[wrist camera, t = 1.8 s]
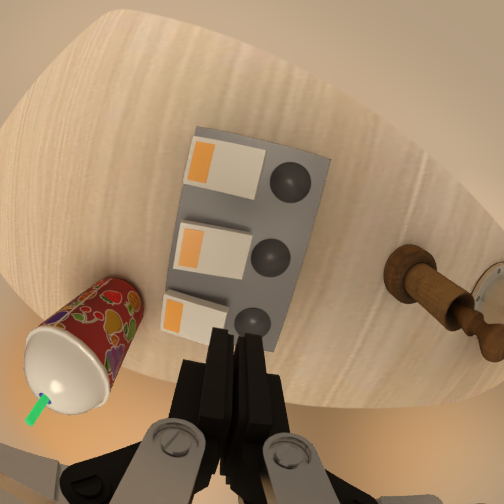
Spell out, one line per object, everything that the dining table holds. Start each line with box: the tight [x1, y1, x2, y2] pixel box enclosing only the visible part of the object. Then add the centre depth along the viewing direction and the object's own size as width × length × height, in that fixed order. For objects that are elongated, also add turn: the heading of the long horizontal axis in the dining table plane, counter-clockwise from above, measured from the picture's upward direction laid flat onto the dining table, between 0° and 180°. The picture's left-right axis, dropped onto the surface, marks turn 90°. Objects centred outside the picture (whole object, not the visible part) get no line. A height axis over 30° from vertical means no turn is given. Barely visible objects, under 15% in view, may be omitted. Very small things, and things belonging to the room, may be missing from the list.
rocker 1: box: [183, 136, 267, 200], centre depth 23 cm, size 6×4×1 cm, turn 77°
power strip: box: [165, 126, 331, 352], centre depth 28 cm, size 12×20×4 cm, turn 167°
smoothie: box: [24, 278, 143, 426], centre depth 22 cm, size 8×8×20 cm
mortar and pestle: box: [384, 245, 504, 362], centre depth 23 cm, size 7×6×18 cm
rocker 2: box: [160, 289, 230, 346], centre depth 26 cm, size 6×4×1 cm, turn 77°
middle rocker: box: [173, 219, 253, 280], centre depth 25 cm, size 6×4×1 cm, turn 76°
